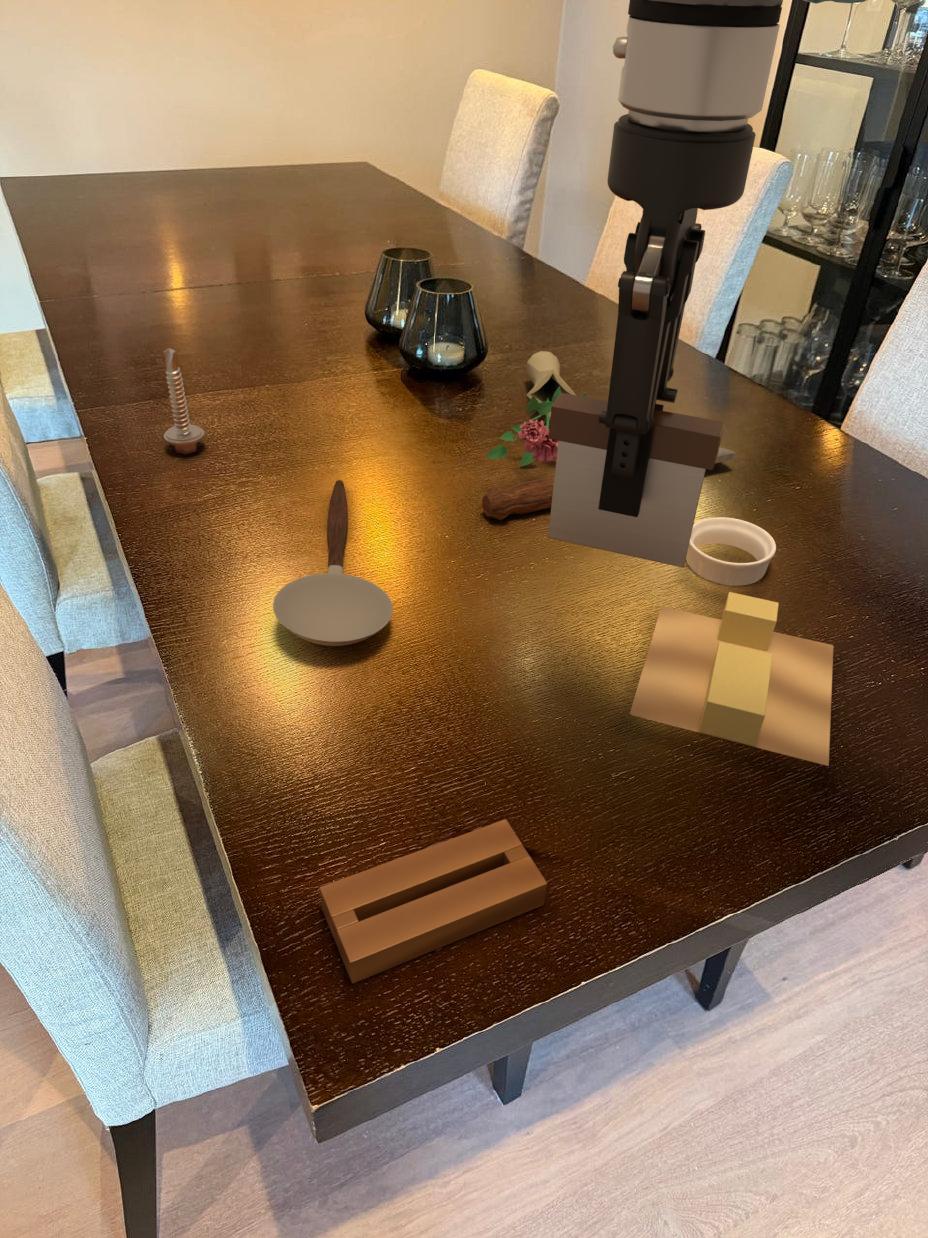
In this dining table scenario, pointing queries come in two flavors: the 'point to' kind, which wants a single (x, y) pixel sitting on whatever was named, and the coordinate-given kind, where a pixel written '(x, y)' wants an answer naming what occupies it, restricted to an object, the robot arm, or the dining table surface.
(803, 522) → the dining table surface
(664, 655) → the butter board
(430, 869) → the block
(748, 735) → the butter stick
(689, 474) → the dough scraper
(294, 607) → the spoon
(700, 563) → the white ring
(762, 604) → the butter pat
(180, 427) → the screw
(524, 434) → the carnation
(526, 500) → the meat cleaver
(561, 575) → the dining table surface
